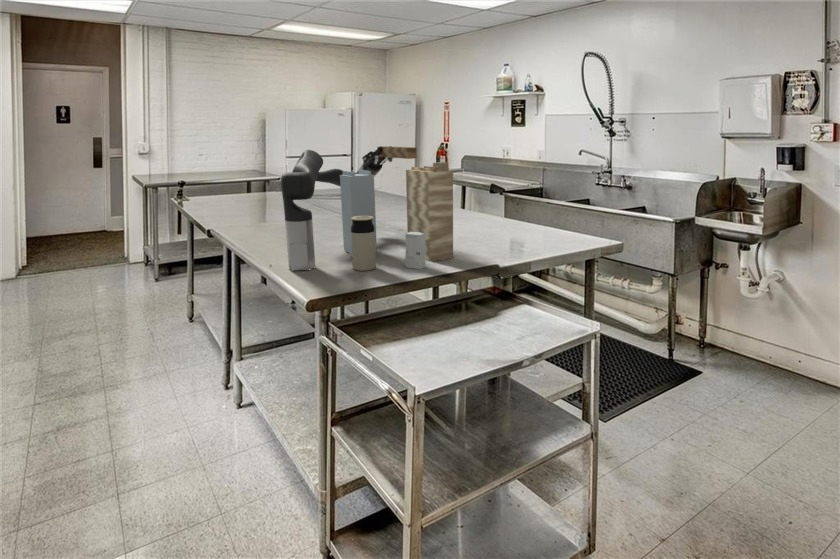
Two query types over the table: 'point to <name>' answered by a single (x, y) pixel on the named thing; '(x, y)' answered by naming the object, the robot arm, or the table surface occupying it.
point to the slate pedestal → (356, 201)
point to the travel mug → (363, 243)
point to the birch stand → (431, 208)
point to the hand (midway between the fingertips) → (386, 148)
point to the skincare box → (415, 250)
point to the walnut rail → (399, 152)
